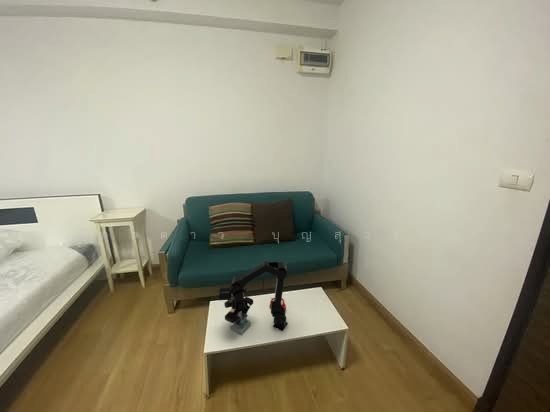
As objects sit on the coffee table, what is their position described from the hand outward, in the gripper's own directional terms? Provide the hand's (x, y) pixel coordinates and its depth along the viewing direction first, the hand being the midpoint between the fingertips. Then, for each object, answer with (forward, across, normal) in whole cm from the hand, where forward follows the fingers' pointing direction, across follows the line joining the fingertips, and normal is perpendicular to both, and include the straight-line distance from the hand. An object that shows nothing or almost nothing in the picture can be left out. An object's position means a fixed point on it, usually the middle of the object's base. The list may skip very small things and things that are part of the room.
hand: (240, 321), depth 131 cm
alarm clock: (+5, -24, +10) cm, 27 cm away
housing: (+1, 0, 0) cm, 1 cm away
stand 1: (+4, -7, -9) cm, 12 cm away
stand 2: (+4, 0, 0) cm, 4 cm away
